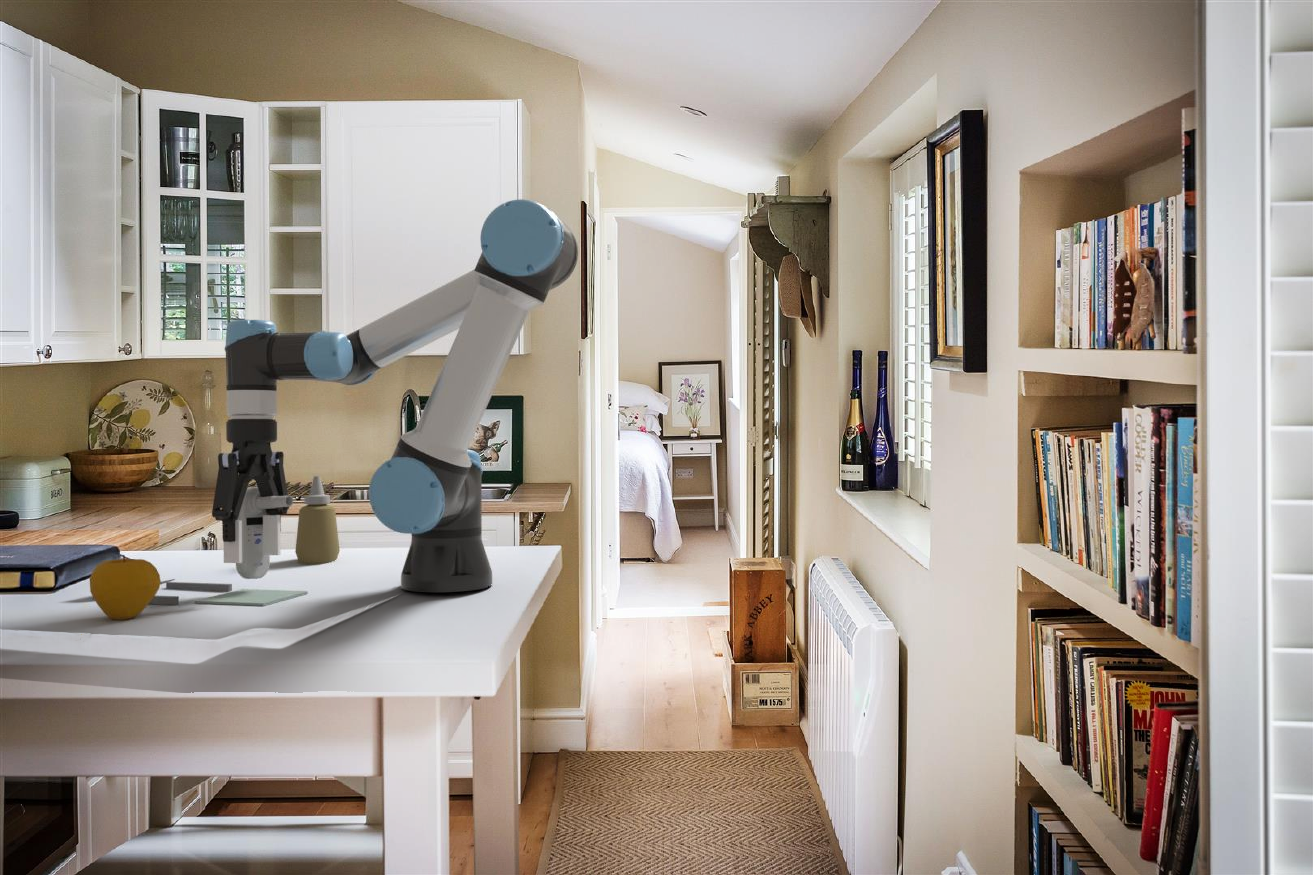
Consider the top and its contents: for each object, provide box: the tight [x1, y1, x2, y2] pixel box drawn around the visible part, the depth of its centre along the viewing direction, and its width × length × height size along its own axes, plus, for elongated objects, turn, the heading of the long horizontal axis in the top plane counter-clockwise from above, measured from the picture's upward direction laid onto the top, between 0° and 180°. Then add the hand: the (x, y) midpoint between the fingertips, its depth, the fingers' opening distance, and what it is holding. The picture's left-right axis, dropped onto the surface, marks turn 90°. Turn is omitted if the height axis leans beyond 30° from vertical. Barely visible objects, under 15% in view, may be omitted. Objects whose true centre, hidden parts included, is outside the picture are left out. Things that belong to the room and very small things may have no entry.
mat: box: [194, 588, 309, 607], centre depth 161 cm, size 12×12×1 cm
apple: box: [89, 555, 162, 621], centre depth 145 cm, size 9×9×9 cm
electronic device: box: [235, 486, 294, 580], centre depth 165 cm, size 5×10×15 cm, turn 65°
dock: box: [92, 578, 233, 606], centre depth 167 cm, size 17×19×4 cm
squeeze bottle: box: [294, 475, 341, 565], centre depth 194 cm, size 8×8×18 cm
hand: (253, 558), depth 161 cm, fingers open, 9 cm apart
